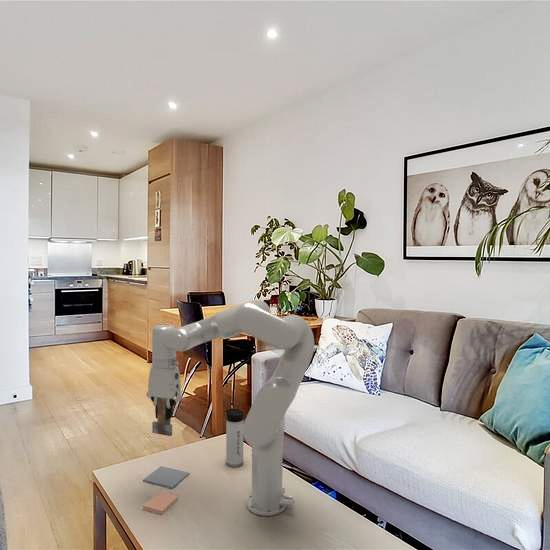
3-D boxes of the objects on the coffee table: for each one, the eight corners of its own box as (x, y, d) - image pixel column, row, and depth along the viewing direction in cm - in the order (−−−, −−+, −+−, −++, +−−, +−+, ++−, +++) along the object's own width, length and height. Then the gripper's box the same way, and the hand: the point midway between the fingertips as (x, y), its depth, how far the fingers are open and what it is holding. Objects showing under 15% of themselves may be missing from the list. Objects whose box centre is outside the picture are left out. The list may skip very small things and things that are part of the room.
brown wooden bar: (175, 432, 141) (175, 391, 140) (170, 436, 138) (170, 393, 138) (157, 429, 144) (157, 388, 143) (152, 432, 141) (152, 391, 140)
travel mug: (227, 458, 161) (227, 406, 160) (244, 459, 160) (245, 407, 159) (223, 466, 155) (223, 412, 154) (241, 468, 154) (241, 414, 153)
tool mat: (189, 474, 150) (189, 472, 150) (172, 488, 140) (172, 487, 140) (161, 467, 154) (161, 466, 154) (142, 481, 145) (142, 479, 145)
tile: (177, 496, 134) (162, 510, 126) (177, 501, 134) (162, 516, 126) (159, 491, 136) (143, 505, 129) (159, 497, 136) (143, 511, 129)
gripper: (191, 362, 140) (191, 417, 141) (150, 357, 146) (150, 410, 147) (179, 368, 133) (179, 425, 134) (136, 363, 139) (136, 418, 140)
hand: (164, 417), depth 141 cm, fingers closed on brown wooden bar, 3 cm apart
